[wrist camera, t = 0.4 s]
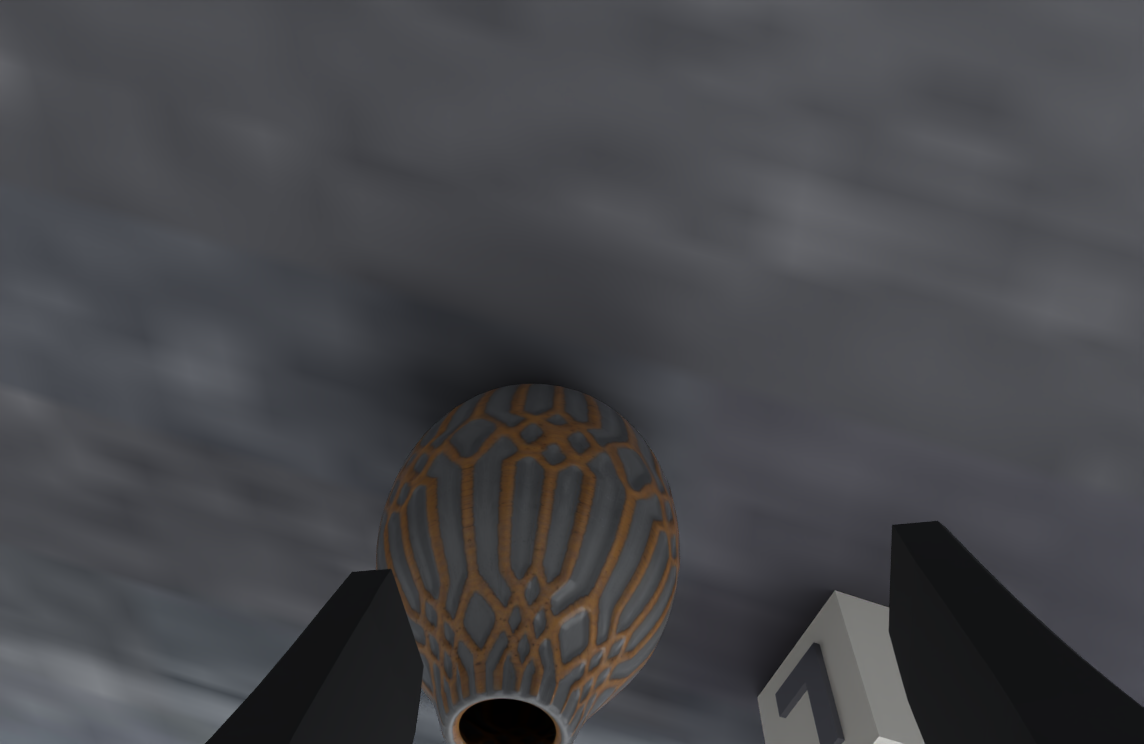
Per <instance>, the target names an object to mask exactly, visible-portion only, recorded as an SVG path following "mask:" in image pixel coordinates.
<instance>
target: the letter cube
mask: <svg viewBox="0 0 1144 744" xmlns="http://www.w3.org/2000/svg"><path fill="white" fill-rule="evenodd" d="M757 699H758V705H759V710H760V716H761V722H762V728H763V734H764V739H765V744H925V743H924V740H923V738H922V735H921V733H920V730H919V728H918V725H917V723H916V720H915V718H914V715H913V713H912V710H911V708H910V705H909V703H908V700H907V697H906V693H905V689H904V686H903V682H902V679H901V675H900V672H899V668H898V665H897V661H896V657H895V653H894V650H893V646H892V642H891V639H890V635H889V607H885V606H882V605H879V604H876V603H873V602H870V601H867V600H864V599H861V598H857V597H854V596H851V595H848V594H845V593H842V592H839V591H836V590H835V591H834V592H833V594H832V595H831V596H830V598H829V599H828V601H827V602H826V603H825V605H824V606H823V607H822V609H821V610H820V612H819V613H818V614H817V616H816V617H815V619H814V620H813V621H812V623H811V624H810V625H809V627H808V628H807V630H806V631H805V632H804V634H803V635H802V636H801V638H800V639H799V641H798V642H797V643H796V645H795V646H794V648H793V649H792V650H791V652H790V653H789V654H788V656H787V657H786V659H785V660H784V661H783V663H782V664H781V666H780V667H779V668H778V670H777V671H776V672H775V674H774V675H773V677H772V678H771V679H770V681H769V682H768V683H767V685H766V686H765V688H764V689H763V690H762V692H761V693H760V695H759V696H758V697H757Z"/></svg>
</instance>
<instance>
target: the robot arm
mask: <svg viewBox="0 0 1144 744" xmlns="http://www.w3.org/2000/svg"><path fill="white" fill-rule="evenodd" d="M889 635H890V639H891V642H892V646H893V650H894V653H895V657H896V661H897V665H898V668H899V672H900V675H901V679H902V682H903V686H904V689H905V693H906V697H907V700H908V703H909V705H910V708H911V710H912V713H913V715H914V718H915V720H916V723H917V725H918V728H919V730H920V733H921V735H922V738H923V740H924V743H925V744H1144V707H1142V706H1141V705H1140V704H1138V703H1137V702H1136V701H1135V700H1133V699H1132V698H1131V697H1129V696H1128V695H1127V694H1126V693H1124V692H1123V691H1122V690H1121V689H1119V688H1118V687H1117V686H1116V685H1114V684H1113V683H1112V682H1111V681H1109V680H1108V679H1107V678H1106V677H1105V676H1103V675H1102V674H1101V673H1100V672H1099V671H1097V670H1096V669H1095V668H1094V667H1093V666H1091V665H1090V664H1089V663H1088V662H1087V661H1085V660H1084V659H1083V658H1082V657H1081V656H1079V655H1078V654H1077V653H1076V652H1075V651H1074V650H1073V649H1071V648H1070V647H1069V646H1068V645H1067V644H1066V643H1064V642H1063V641H1062V640H1061V639H1060V638H1059V637H1058V636H1057V635H1055V634H1054V633H1053V632H1052V631H1051V630H1050V629H1049V628H1048V627H1047V626H1046V625H1045V624H1043V623H1042V622H1041V621H1040V620H1039V619H1038V618H1037V617H1036V616H1035V615H1034V614H1032V613H1031V612H1030V611H1029V610H1028V609H1027V608H1026V607H1025V606H1024V605H1023V604H1022V603H1021V602H1020V601H1018V600H1017V599H1016V598H1015V597H1014V596H1013V595H1012V594H1011V593H1010V592H1009V591H1008V590H1007V589H1006V588H1005V587H1004V586H1003V585H1002V584H1001V583H1000V582H999V581H998V580H997V579H996V578H995V577H994V576H993V575H992V574H991V573H990V572H989V571H988V570H987V569H986V568H985V567H984V566H983V565H982V564H981V563H980V562H979V561H978V560H977V559H976V558H975V557H974V556H973V555H972V554H971V553H970V552H969V551H968V550H967V549H966V548H965V547H964V546H963V545H962V544H961V543H960V542H959V541H958V540H957V539H956V538H955V537H954V536H953V534H952V533H951V532H950V531H949V530H948V529H947V528H946V527H945V526H943V525H942V524H941V523H940V522H938V521H932V522H921V523H910V524H898V525H892V546H891V575H890V604H889ZM423 668H424V665H423V662H422V659H421V656H420V653H419V650H418V647H417V644H416V641H415V638H414V635H413V632H412V629H411V626H410V623H409V620H408V617H407V614H406V611H405V608H404V605H403V602H402V599H401V596H400V593H399V590H398V587H397V584H396V581H395V578H394V575H393V572H392V569H382V570H370V571H359V572H352V573H351V574H350V575H349V576H348V578H347V579H346V580H345V581H344V582H343V584H342V585H341V586H340V587H339V588H338V590H337V591H336V592H335V593H334V594H333V596H332V597H331V598H330V599H329V601H328V602H327V603H326V604H325V605H324V607H323V608H322V609H321V610H320V612H319V613H318V614H317V615H316V617H315V618H314V619H313V620H312V622H311V623H310V624H309V625H308V626H307V628H306V629H305V630H304V631H303V633H302V634H301V635H300V636H299V638H298V639H297V640H296V641H295V642H294V644H293V645H292V646H291V647H290V649H289V650H288V651H287V652H286V653H285V654H284V656H283V657H282V658H281V659H280V660H279V662H278V663H277V664H276V665H275V666H274V668H273V669H272V670H271V671H270V672H269V673H268V675H267V676H266V677H265V678H264V679H263V681H262V682H261V683H260V684H259V685H258V686H257V688H256V689H255V690H254V691H253V692H252V693H251V694H250V695H249V696H248V698H247V699H246V700H245V701H244V702H243V703H242V704H241V705H240V706H239V707H238V709H237V710H236V711H235V712H234V713H233V714H232V715H231V716H230V717H229V718H228V719H227V721H226V722H225V723H224V724H223V725H222V726H221V727H220V728H219V729H218V730H217V731H216V733H215V734H214V735H213V736H212V737H211V738H210V739H209V740H208V741H207V742H206V743H205V744H412V743H413V739H414V735H415V730H416V723H417V716H418V709H419V702H420V694H421V685H422V677H423Z"/></svg>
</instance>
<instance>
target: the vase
mask: <svg viewBox="0 0 1144 744" xmlns="http://www.w3.org/2000/svg"><path fill="white" fill-rule="evenodd" d="M679 566H680V543H679V530H678V523H677V516H676V511H675V506H674V502H673V498H672V494H671V490H670V487H669V484H668V481H667V479H666V477H665V475H664V473H663V471H662V469H661V466H660V464H659V462H658V460H657V459H656V457H655V455H654V453H653V452H652V450H651V449H650V448H649V446H648V445H647V443H646V442H645V440H644V439H643V438H642V436H641V435H640V434H639V433H638V431H637V430H636V429H635V428H634V427H633V426H632V425H631V424H630V423H629V422H628V421H627V420H625V419H624V418H623V417H622V416H621V415H620V414H619V413H617V412H616V411H615V410H613V409H612V408H611V407H609V406H608V405H606V404H605V403H603V402H601V401H599V400H597V399H596V398H594V397H591V396H589V395H587V394H584V393H582V392H579V391H576V390H573V389H569V388H565V387H561V386H555V385H548V384H518V385H510V386H505V387H500V388H497V389H493V390H490V391H487V392H484V393H482V394H480V395H477V396H475V397H473V398H471V399H470V400H468V401H466V402H464V403H462V404H460V405H459V406H457V407H456V408H454V409H453V410H451V411H450V412H449V413H447V414H446V415H445V416H444V417H442V418H441V419H440V420H439V421H438V422H437V423H436V424H435V425H433V426H432V427H431V428H430V429H429V430H428V431H427V432H426V434H425V435H424V436H423V437H422V438H421V439H420V441H419V442H418V443H417V444H416V446H415V447H414V448H413V449H412V451H411V452H410V454H409V455H408V457H407V458H406V460H405V462H404V464H403V466H402V467H401V469H400V471H399V473H398V475H397V477H396V479H395V481H394V484H393V486H392V489H391V491H390V494H389V496H388V499H387V502H386V505H385V508H384V511H383V515H382V519H381V522H380V527H379V534H378V541H377V554H376V570H382V569H392V572H393V575H394V578H395V581H396V584H397V587H398V590H399V593H400V596H401V599H402V602H403V605H404V608H405V611H406V614H407V617H408V620H409V623H410V626H411V629H412V632H413V635H414V638H415V641H416V644H417V647H418V650H419V653H420V656H421V659H422V662H423V665H424V668H423V677H422V685H421V688H422V689H423V691H424V692H425V693H426V695H427V696H428V697H429V699H430V700H431V701H432V703H433V705H434V707H435V709H436V713H437V716H438V720H439V724H440V727H441V731H442V734H443V737H444V739H445V741H446V743H447V744H572V743H573V741H574V740H575V738H576V736H577V734H578V732H579V731H580V729H581V727H582V726H583V724H584V723H585V722H586V720H587V719H589V718H590V717H591V716H592V715H594V714H595V713H596V712H597V711H599V710H600V709H601V708H602V707H603V706H605V705H606V704H607V703H608V702H609V701H610V700H611V699H613V698H614V697H615V696H616V695H617V694H618V693H619V692H621V691H622V690H623V689H624V688H625V687H626V686H627V685H628V684H629V683H630V682H631V681H632V680H633V679H634V678H635V676H636V675H637V674H638V673H639V672H640V670H641V669H642V668H643V666H644V665H645V664H646V663H647V661H648V659H649V658H650V656H651V655H652V653H653V651H654V649H655V648H656V646H657V644H658V642H659V640H660V638H661V635H662V633H663V631H664V628H665V626H666V623H667V621H668V618H669V614H670V611H671V608H672V605H673V601H674V597H675V593H676V588H677V583H678V575H679Z"/></svg>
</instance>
